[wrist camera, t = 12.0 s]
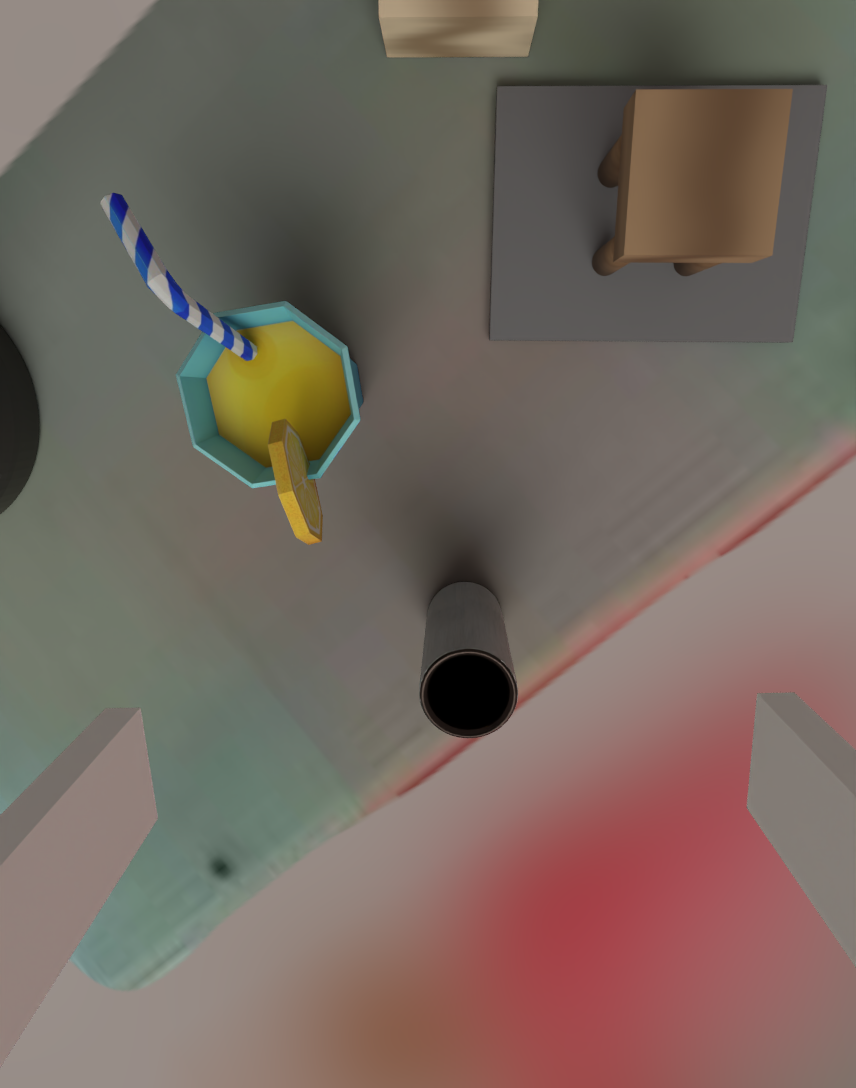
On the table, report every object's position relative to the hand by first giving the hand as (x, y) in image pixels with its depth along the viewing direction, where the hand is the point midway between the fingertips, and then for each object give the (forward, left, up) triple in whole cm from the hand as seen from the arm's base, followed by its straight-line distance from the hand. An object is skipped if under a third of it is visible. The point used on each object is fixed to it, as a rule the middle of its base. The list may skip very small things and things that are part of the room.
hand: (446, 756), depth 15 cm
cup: (-8, +8, -26) cm, 28 cm away
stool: (+10, +16, -25) cm, 31 cm away
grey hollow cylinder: (+1, -6, -26) cm, 27 cm away
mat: (+10, +16, -26) cm, 32 cm away
